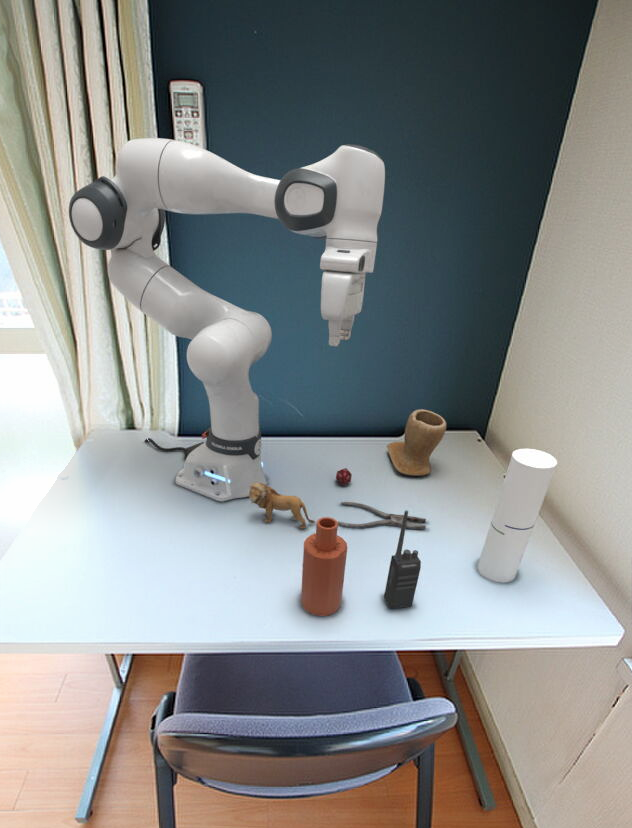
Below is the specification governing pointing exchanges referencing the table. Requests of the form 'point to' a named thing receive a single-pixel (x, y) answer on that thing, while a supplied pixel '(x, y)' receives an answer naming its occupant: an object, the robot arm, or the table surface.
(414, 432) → the stone cup
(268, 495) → the lion figurine
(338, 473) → the dice
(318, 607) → the bottle
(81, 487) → the table surface
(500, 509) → the cylindrical container
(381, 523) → the pliers
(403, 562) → the walkie-talkie
